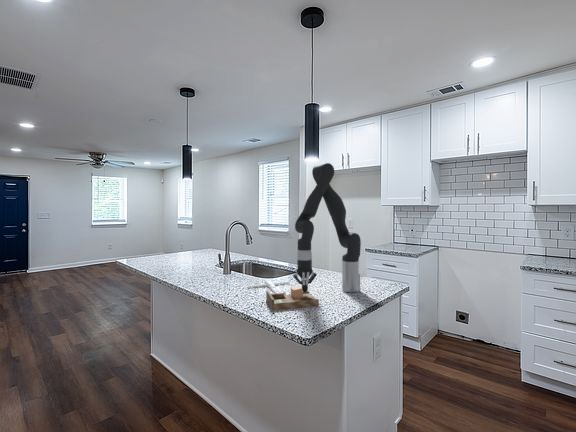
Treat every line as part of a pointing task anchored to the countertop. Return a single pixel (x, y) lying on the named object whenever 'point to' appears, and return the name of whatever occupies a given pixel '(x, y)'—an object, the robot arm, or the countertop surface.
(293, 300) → the brown wooden compartment frame
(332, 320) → the countertop surface
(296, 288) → the block
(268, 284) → the articulated figure
